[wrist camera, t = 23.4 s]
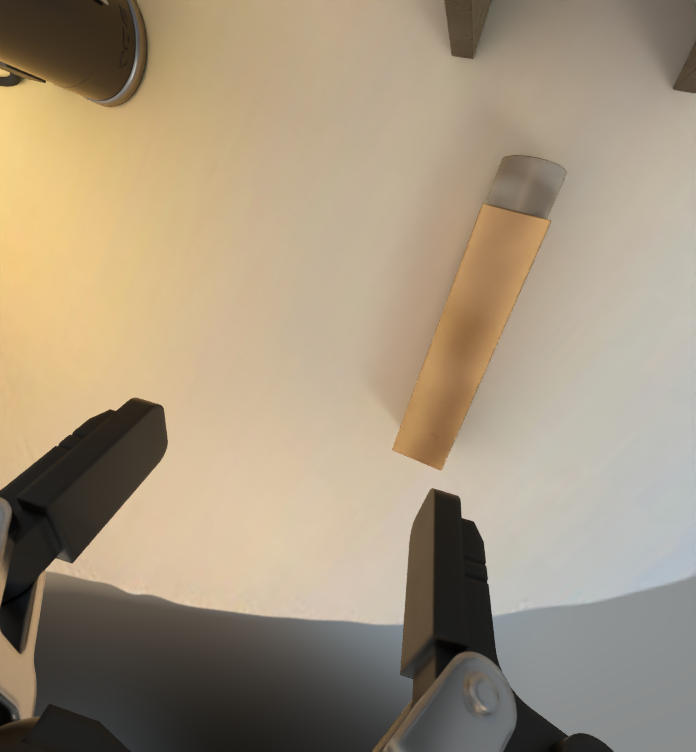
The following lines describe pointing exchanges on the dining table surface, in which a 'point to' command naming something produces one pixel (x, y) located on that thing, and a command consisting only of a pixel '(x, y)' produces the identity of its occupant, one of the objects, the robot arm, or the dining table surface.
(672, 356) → the dining table surface
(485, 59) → the dining table surface
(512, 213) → the long wooden beam
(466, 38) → the shelf stand
